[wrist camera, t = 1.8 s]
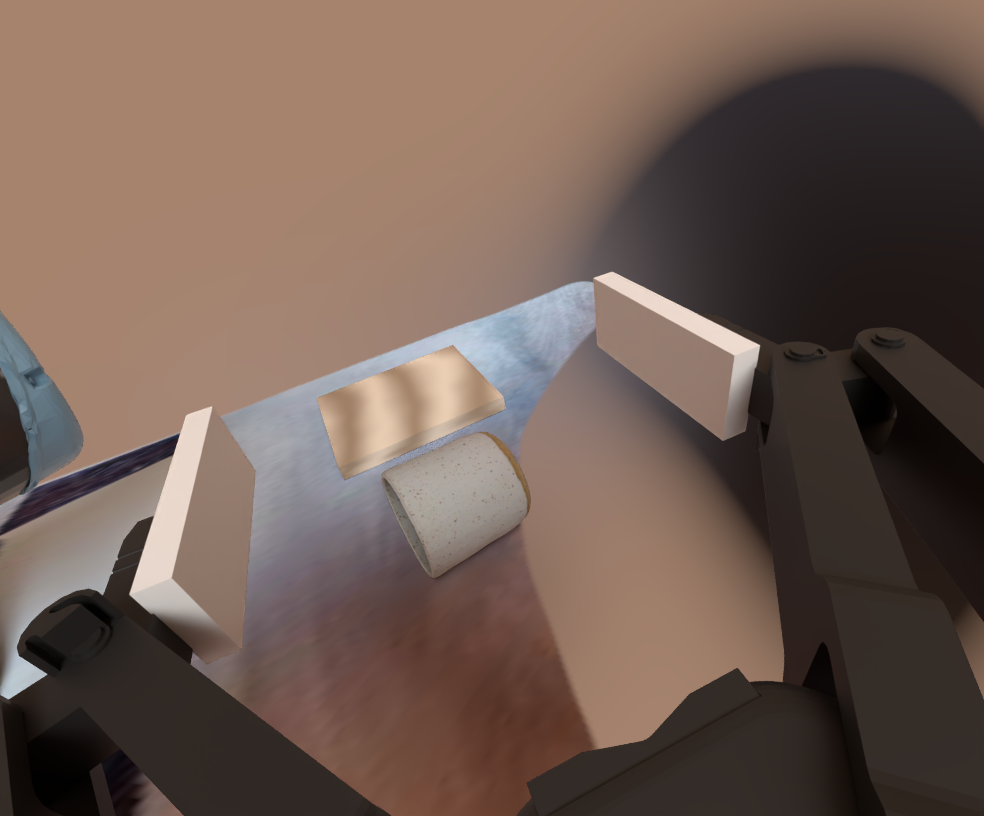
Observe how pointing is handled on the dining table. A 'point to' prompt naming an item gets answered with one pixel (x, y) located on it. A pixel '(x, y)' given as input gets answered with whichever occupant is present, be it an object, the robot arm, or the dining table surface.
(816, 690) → the robot arm
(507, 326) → the dining table surface
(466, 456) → the ceramic mug
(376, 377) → the birch board
